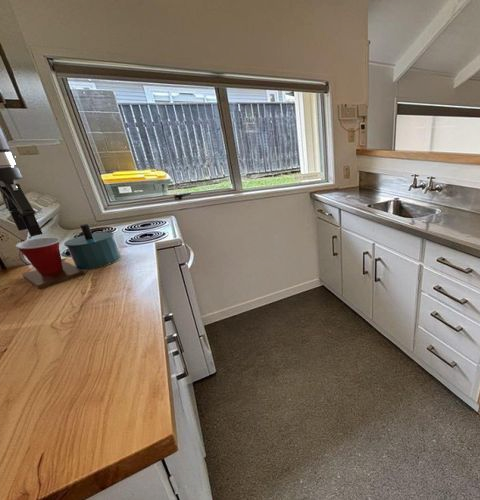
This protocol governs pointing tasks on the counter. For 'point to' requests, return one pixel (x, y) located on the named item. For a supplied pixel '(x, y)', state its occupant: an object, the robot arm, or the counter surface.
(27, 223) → the robot arm
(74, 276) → the board
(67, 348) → the counter surface
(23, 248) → the plastic cup
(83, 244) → the pot lid
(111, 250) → the pot
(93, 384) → the counter surface
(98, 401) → the counter surface
